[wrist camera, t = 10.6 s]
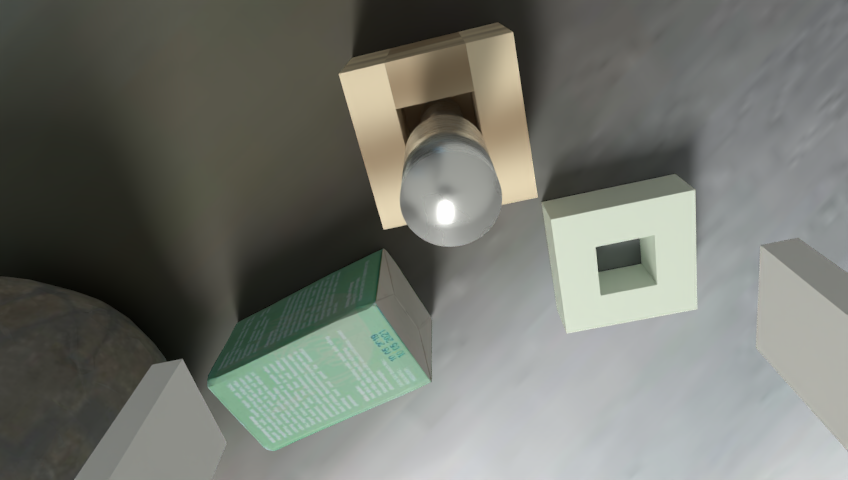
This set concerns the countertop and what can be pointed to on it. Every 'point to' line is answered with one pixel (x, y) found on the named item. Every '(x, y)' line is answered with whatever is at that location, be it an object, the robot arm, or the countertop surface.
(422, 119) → the silver peg
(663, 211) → the stand
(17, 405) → the vessel
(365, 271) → the box
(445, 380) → the countertop surface
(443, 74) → the block
